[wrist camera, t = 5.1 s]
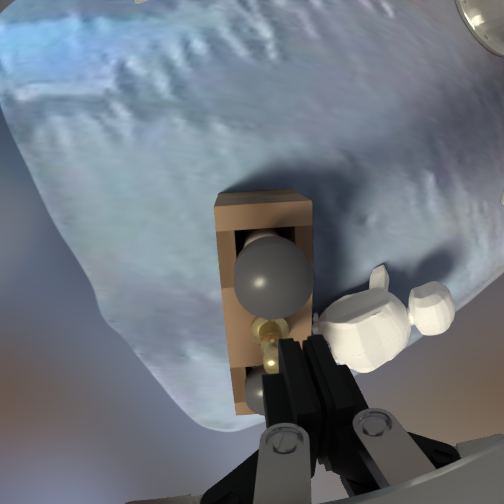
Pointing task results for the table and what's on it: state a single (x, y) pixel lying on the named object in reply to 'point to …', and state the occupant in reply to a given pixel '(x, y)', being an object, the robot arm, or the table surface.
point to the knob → (271, 275)
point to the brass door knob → (269, 340)
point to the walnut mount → (227, 221)
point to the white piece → (381, 321)
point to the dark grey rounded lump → (255, 389)
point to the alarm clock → (140, 1)
